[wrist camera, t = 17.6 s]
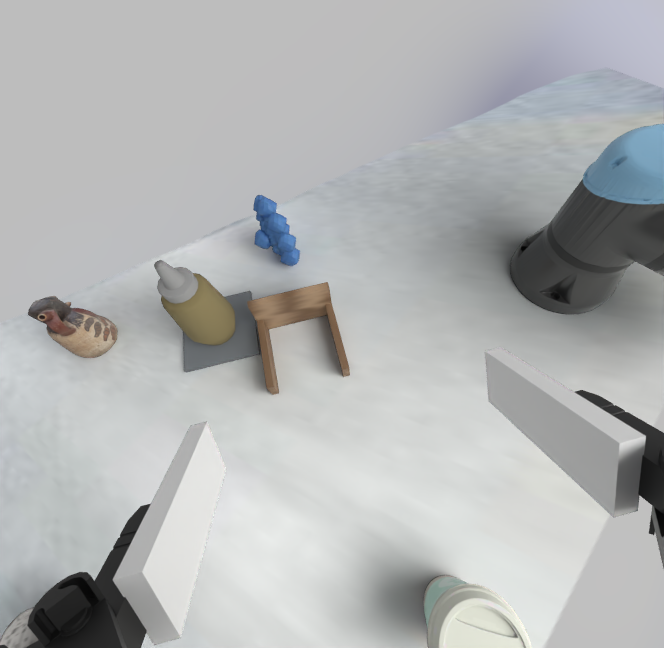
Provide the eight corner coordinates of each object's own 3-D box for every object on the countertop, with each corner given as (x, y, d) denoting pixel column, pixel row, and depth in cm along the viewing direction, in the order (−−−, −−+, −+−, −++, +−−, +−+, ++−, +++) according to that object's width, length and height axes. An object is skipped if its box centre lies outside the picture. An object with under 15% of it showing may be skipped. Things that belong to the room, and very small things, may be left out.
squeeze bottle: (185, 328, 55) (113, 263, 39) (225, 299, 57) (173, 226, 41) (210, 362, 52) (143, 307, 36) (252, 330, 54) (206, 265, 38)
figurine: (112, 313, 58) (56, 274, 47) (123, 344, 55) (65, 310, 44) (72, 334, 57) (5, 298, 46) (81, 367, 54) (11, 337, 43)
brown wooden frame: (331, 308, 55) (327, 282, 48) (349, 375, 50) (348, 356, 42) (261, 325, 55) (247, 301, 47) (272, 394, 49) (257, 379, 42)
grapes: (249, 244, 62) (227, 195, 52) (280, 228, 64) (264, 176, 53) (278, 287, 58) (260, 241, 47) (311, 268, 59) (300, 220, 48)
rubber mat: (251, 292, 58) (250, 290, 57) (260, 354, 52) (259, 352, 52) (183, 308, 57) (182, 307, 57) (186, 372, 52) (184, 371, 51)
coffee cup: (504, 608, 36) (565, 659, 26) (458, 680, 34) (503, 769, 23) (441, 542, 40) (472, 564, 29) (395, 604, 37) (409, 653, 27)
